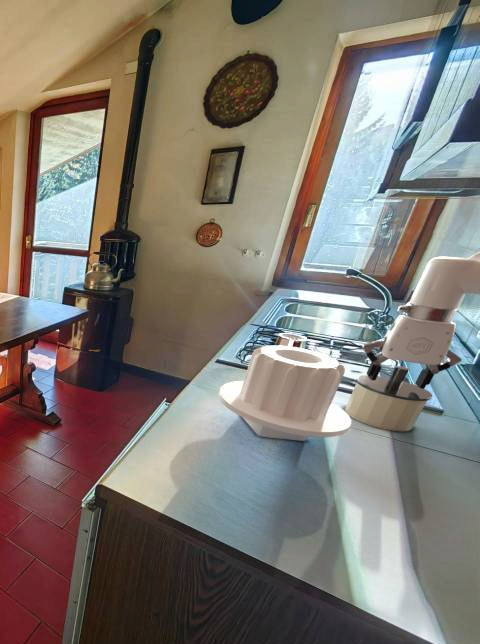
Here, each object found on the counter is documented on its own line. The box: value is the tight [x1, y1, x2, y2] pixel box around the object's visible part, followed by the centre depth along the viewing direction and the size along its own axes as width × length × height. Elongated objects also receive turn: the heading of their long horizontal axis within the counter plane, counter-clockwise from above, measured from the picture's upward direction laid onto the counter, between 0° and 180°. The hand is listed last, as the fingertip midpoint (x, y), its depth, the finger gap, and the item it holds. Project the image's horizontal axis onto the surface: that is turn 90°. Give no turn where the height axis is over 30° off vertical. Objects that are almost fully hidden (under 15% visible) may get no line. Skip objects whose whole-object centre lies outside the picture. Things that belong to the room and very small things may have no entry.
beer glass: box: [273, 332, 308, 349], centre depth 115 cm, size 7×7×15 cm
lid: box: [355, 365, 433, 402], centre depth 95 cm, size 13×13×6 cm
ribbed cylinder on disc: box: [217, 344, 352, 442], centre depth 91 cm, size 25×25×19 cm
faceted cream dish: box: [344, 382, 428, 432], centre depth 98 cm, size 12×12×8 cm
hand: (394, 382), depth 96 cm, fingers open, 8 cm apart
